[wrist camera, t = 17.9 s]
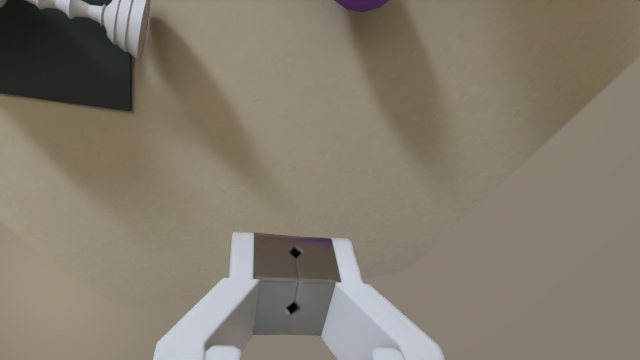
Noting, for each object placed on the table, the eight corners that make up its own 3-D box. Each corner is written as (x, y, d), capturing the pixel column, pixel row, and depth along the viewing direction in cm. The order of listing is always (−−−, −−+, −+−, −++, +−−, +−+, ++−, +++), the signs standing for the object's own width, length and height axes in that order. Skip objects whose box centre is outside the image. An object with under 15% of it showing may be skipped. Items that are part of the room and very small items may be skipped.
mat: (130, -68, 31) (129, -68, 31) (131, 109, 38) (130, 111, 38) (-172, -137, 27) (-177, -138, 27) (-110, 75, 34) (-113, 77, 34)
